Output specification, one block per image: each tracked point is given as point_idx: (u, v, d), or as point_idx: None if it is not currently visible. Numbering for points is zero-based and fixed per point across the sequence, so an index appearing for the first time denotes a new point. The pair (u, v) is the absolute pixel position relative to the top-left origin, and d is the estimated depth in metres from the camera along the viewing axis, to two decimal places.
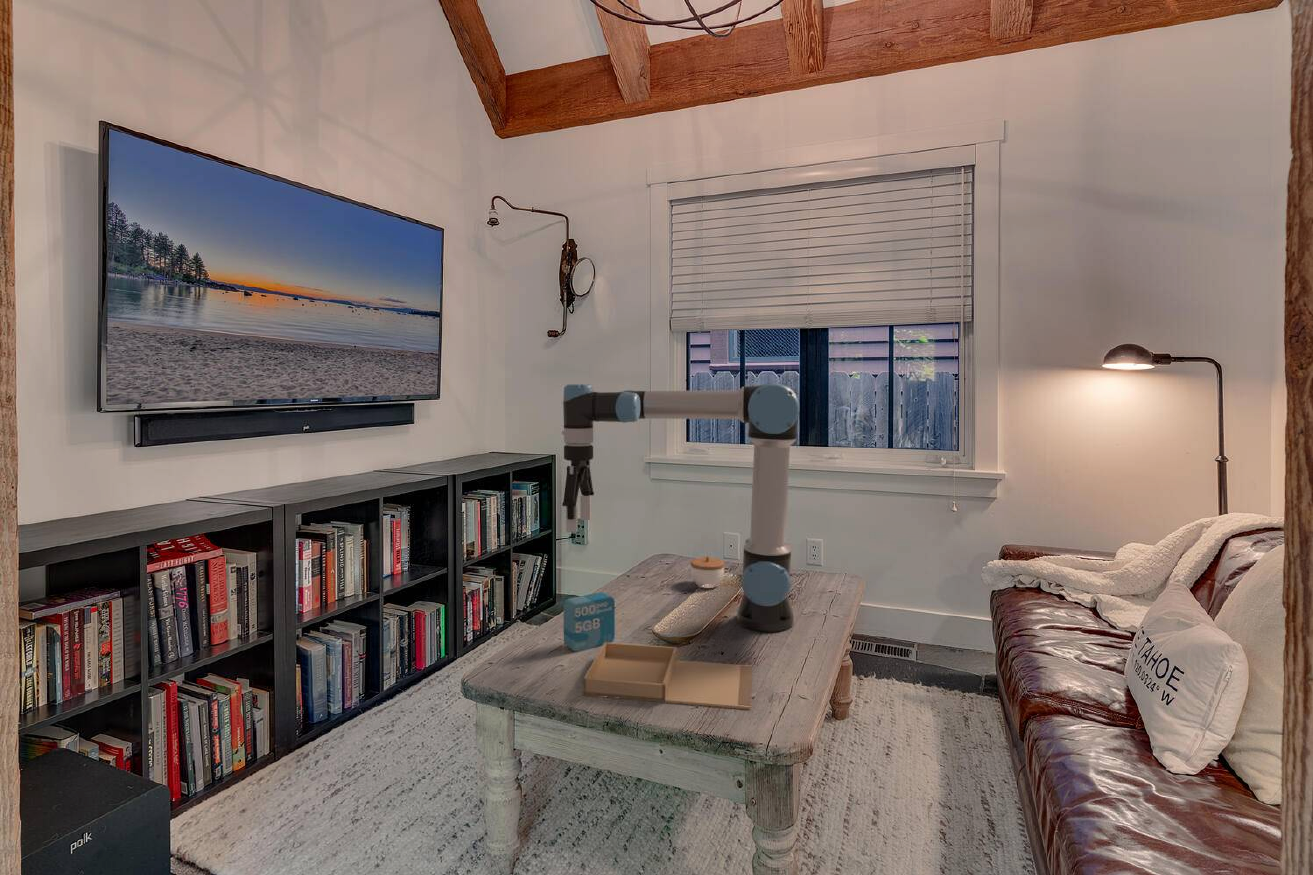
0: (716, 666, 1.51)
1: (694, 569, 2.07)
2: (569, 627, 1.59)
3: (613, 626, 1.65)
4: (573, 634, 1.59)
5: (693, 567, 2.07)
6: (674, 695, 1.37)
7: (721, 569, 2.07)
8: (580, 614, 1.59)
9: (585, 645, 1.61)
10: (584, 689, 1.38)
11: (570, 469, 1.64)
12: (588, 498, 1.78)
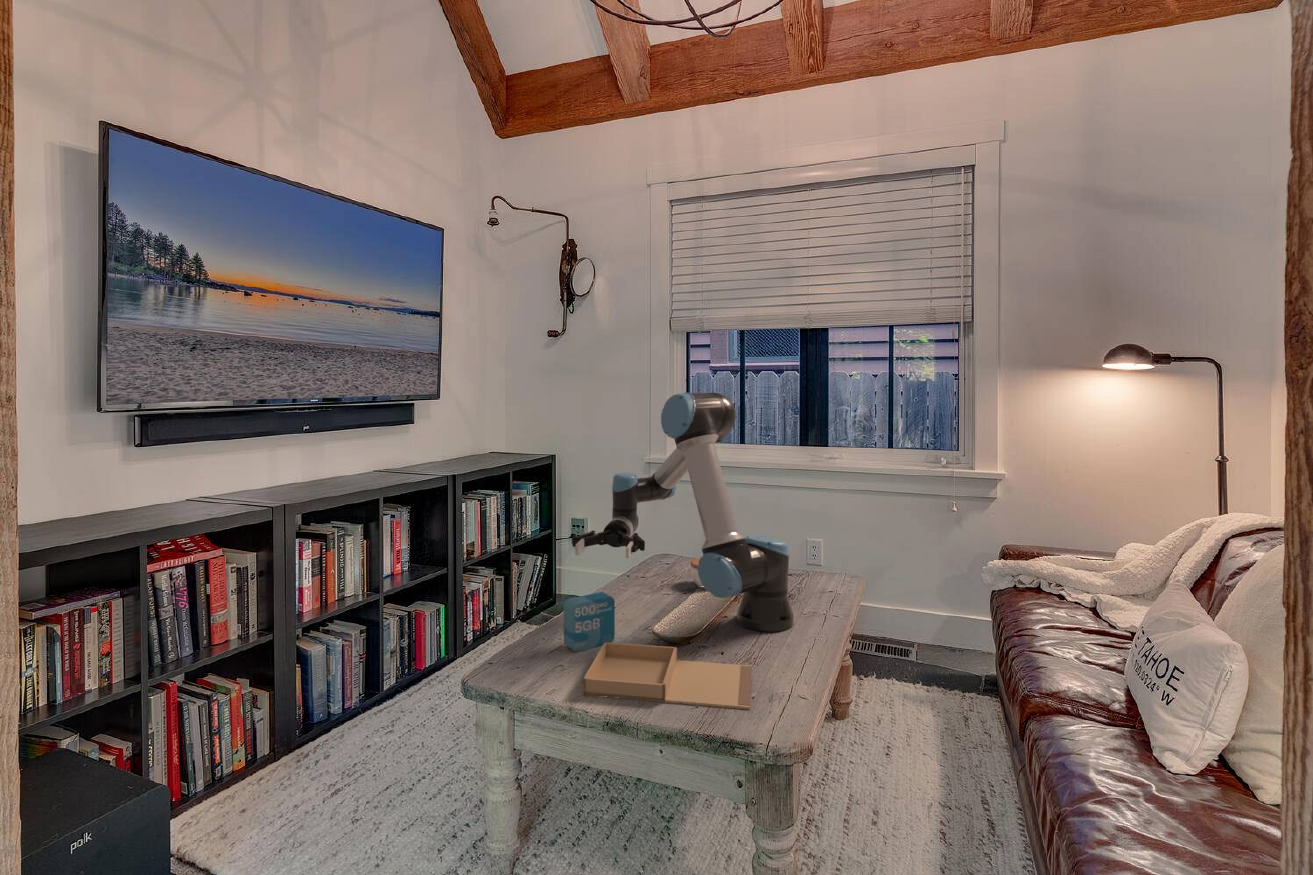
0: (716, 666, 1.51)
1: (694, 569, 2.07)
2: (569, 627, 1.59)
3: (613, 626, 1.65)
4: (573, 634, 1.59)
5: (693, 567, 2.07)
6: (674, 695, 1.37)
7: None
8: (580, 614, 1.59)
9: (585, 645, 1.61)
10: (584, 689, 1.38)
11: None
12: None
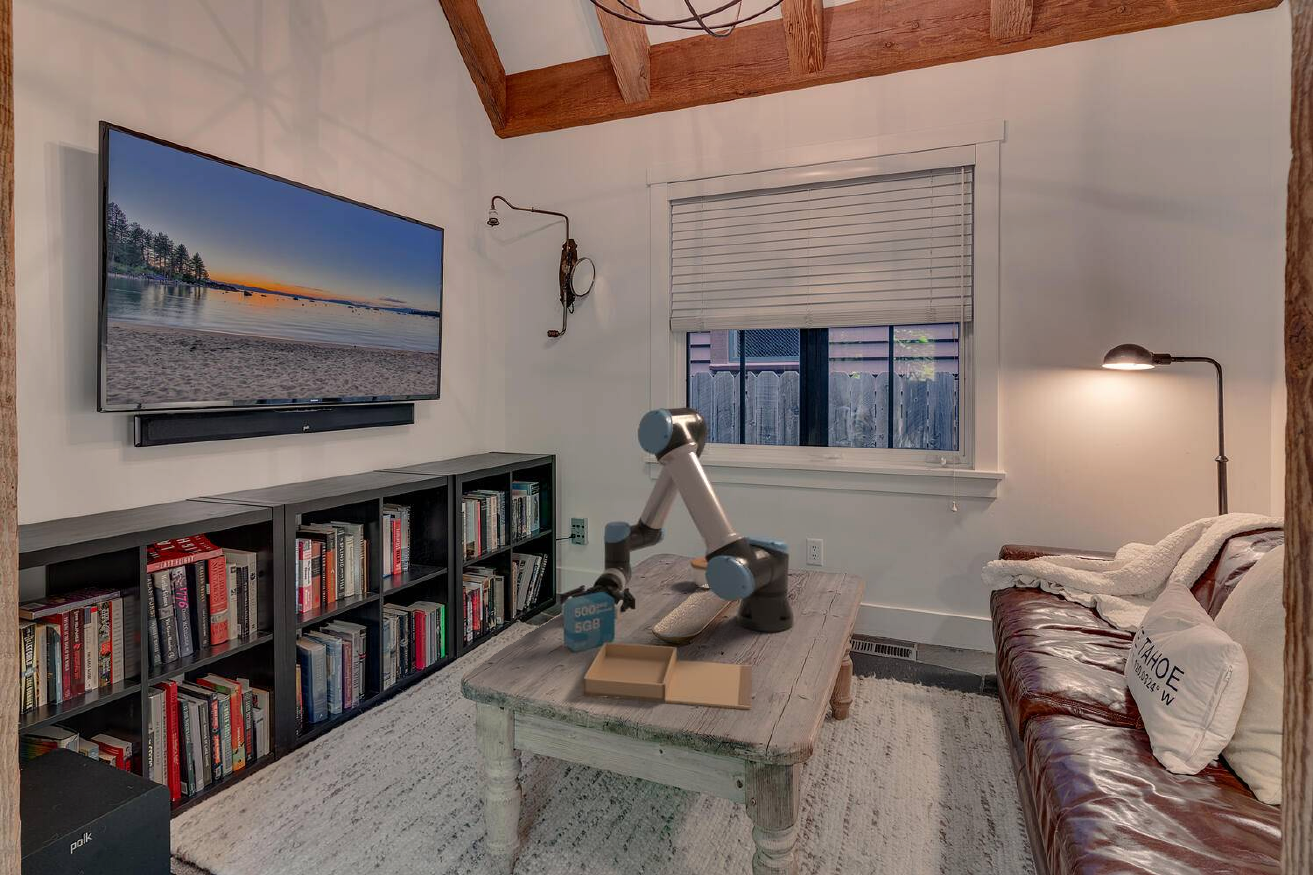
0: (716, 666, 1.51)
1: (694, 569, 2.07)
2: (569, 627, 1.59)
3: (613, 626, 1.65)
4: (573, 634, 1.59)
5: (693, 567, 2.07)
6: (674, 695, 1.37)
7: None
8: (580, 614, 1.59)
9: (585, 645, 1.61)
10: (584, 689, 1.38)
11: None
12: None
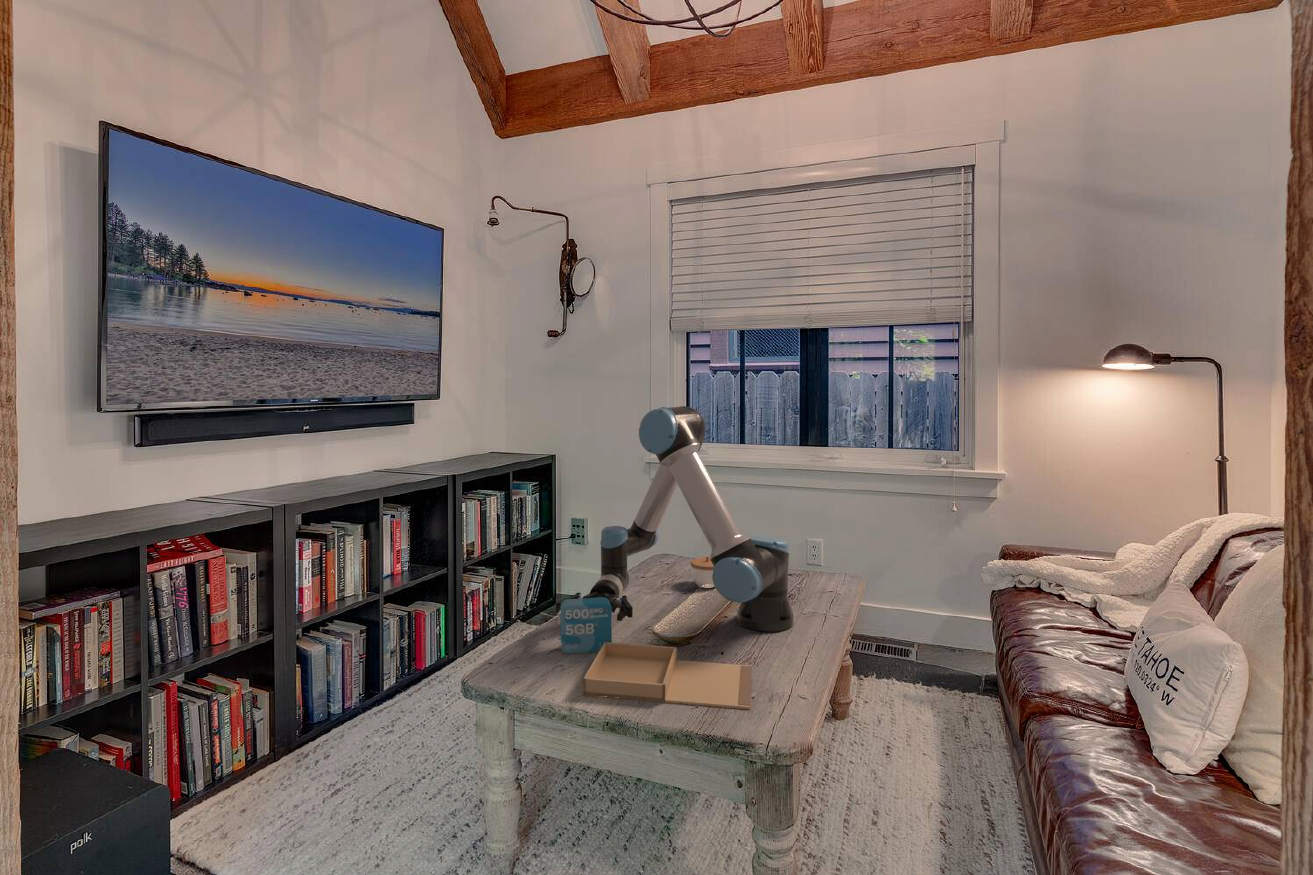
0: (716, 666, 1.51)
1: (694, 569, 2.07)
2: (561, 628, 1.59)
3: (610, 634, 1.60)
4: (563, 636, 1.58)
5: (693, 567, 2.07)
6: (674, 695, 1.37)
7: None
8: (571, 617, 1.57)
9: (577, 649, 1.59)
10: (584, 689, 1.38)
11: None
12: None
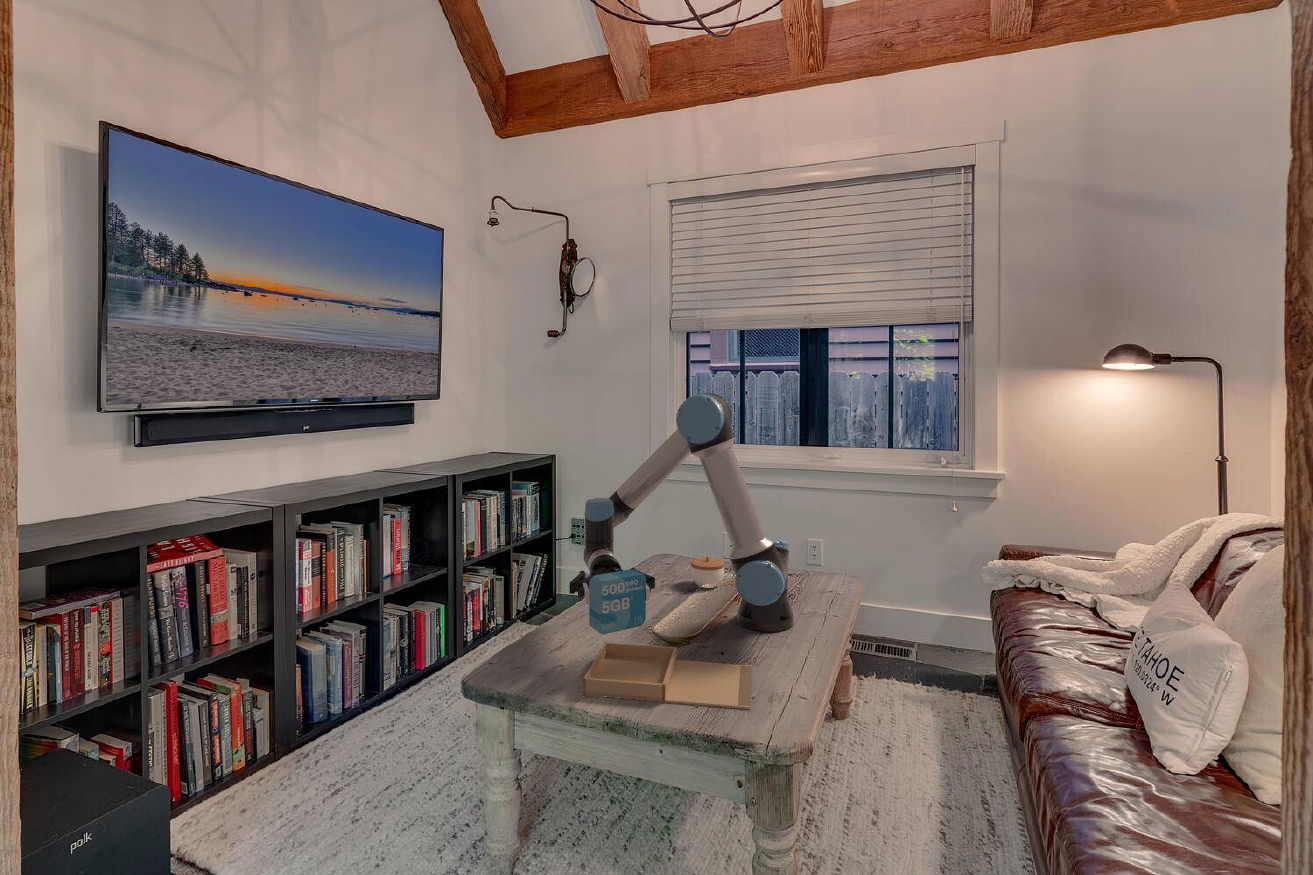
0: (716, 666, 1.51)
1: (694, 569, 2.07)
2: (595, 607, 1.42)
3: (644, 607, 1.48)
4: (600, 615, 1.42)
5: (693, 567, 2.07)
6: (674, 695, 1.37)
7: (721, 569, 2.07)
8: (608, 592, 1.42)
9: (613, 628, 1.44)
10: (584, 689, 1.38)
11: None
12: None
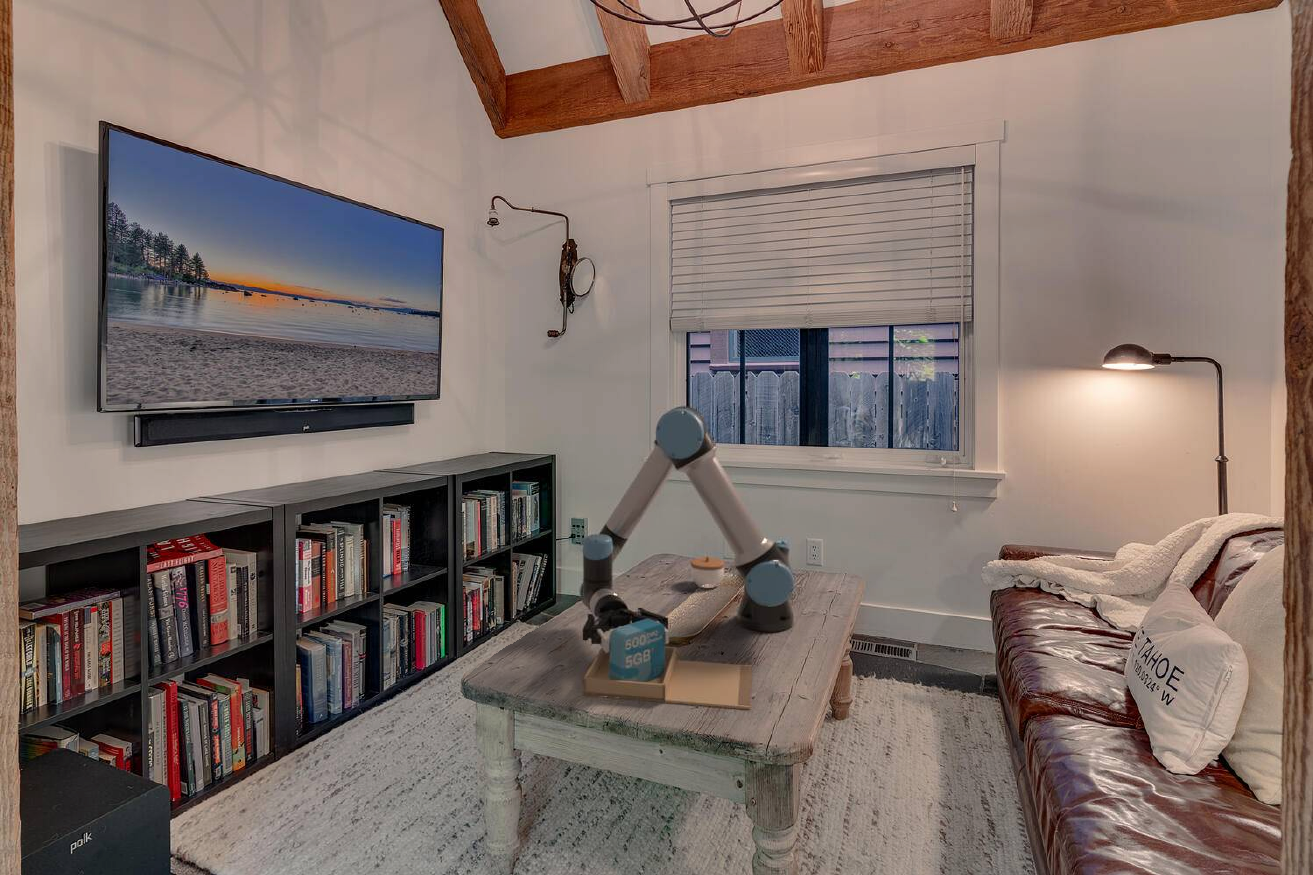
0: (716, 666, 1.51)
1: (694, 569, 2.07)
2: (618, 662, 1.38)
3: (663, 657, 1.45)
4: (623, 670, 1.38)
5: (693, 567, 2.07)
6: (674, 695, 1.37)
7: (721, 569, 2.07)
8: (631, 646, 1.39)
9: (635, 681, 1.40)
10: (584, 689, 1.38)
11: None
12: None
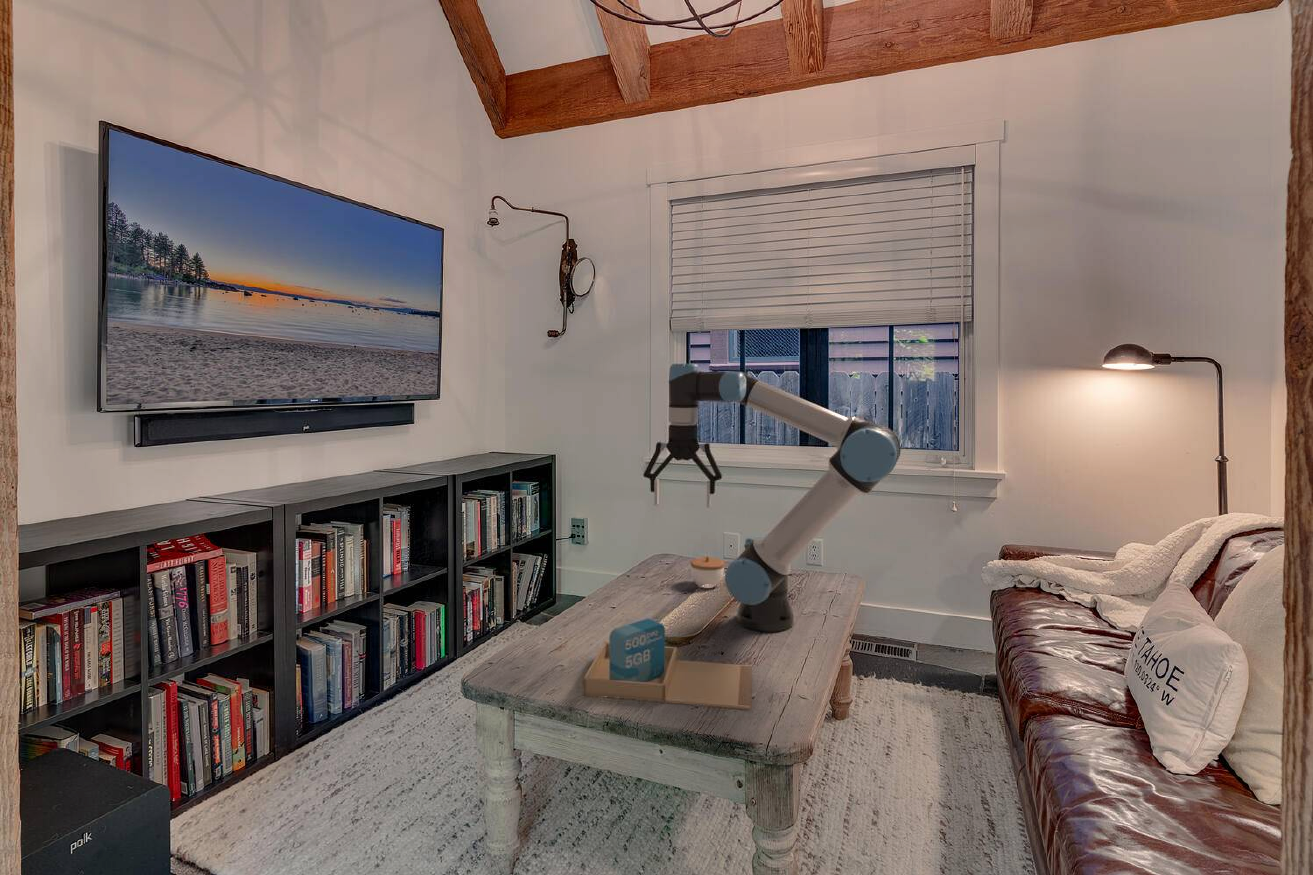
0: (716, 666, 1.51)
1: (694, 569, 2.07)
2: (618, 662, 1.38)
3: (663, 657, 1.45)
4: (623, 670, 1.38)
5: (693, 567, 2.07)
6: (674, 695, 1.37)
7: (721, 569, 2.07)
8: (631, 646, 1.39)
9: (635, 681, 1.40)
10: (584, 689, 1.38)
11: None
12: (707, 484, 1.70)
